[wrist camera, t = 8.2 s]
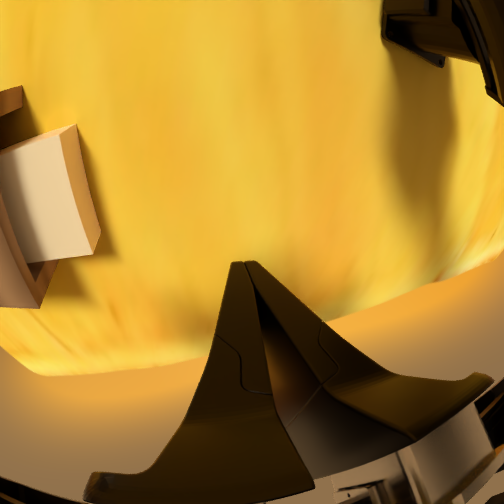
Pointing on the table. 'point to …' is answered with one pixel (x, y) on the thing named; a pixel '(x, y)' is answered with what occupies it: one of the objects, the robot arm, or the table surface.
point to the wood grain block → (8, 251)
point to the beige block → (49, 196)
